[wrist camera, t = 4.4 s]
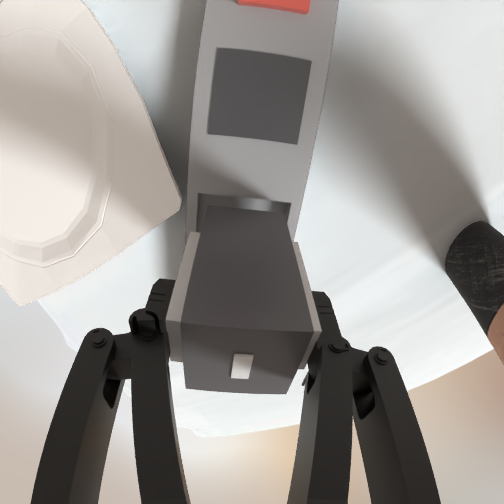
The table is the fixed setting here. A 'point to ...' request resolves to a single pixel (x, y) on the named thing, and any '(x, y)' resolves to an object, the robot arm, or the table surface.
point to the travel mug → (481, 277)
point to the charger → (244, 305)
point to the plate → (71, 150)
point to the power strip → (257, 105)
